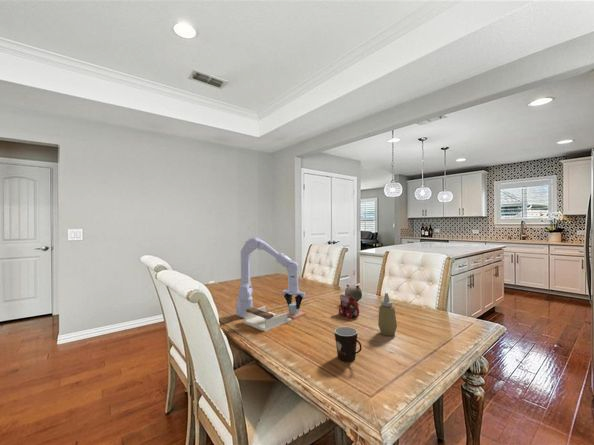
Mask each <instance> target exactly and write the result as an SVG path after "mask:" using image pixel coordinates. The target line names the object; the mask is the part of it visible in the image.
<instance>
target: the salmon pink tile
mask: <svg viewBox="0 0 594 445" xmlns="http://www.w3.org/2000/svg"><path fill="white" fill-rule="evenodd" d="M286 312H287V317H288V318H291V319H292V320H295V319H299V318H301V317H303V316H306V315H307V313H306V312H304V311H301V310H299V313H298V314H296V315H292V314H289V311H286Z"/></svg>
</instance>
